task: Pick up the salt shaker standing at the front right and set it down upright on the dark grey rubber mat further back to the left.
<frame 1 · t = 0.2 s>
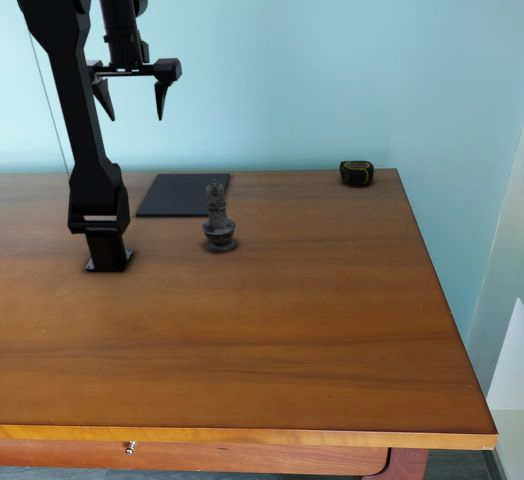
hand: (137, 120, 101), 15 cm above the table, tool pointing down, fingers open, 9 cm apart
mat: (185, 195, 109), on the table
salt shaker: (220, 245, 92), on the table
tape measure: (354, 181, 112), on the table
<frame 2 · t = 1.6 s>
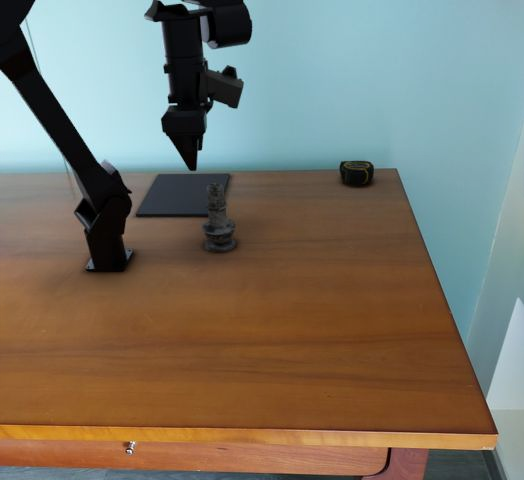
hand: (196, 160, 87), 13 cm above the table, tool pointing down, fingers open, 9 cm apart
nothing on the table moved.
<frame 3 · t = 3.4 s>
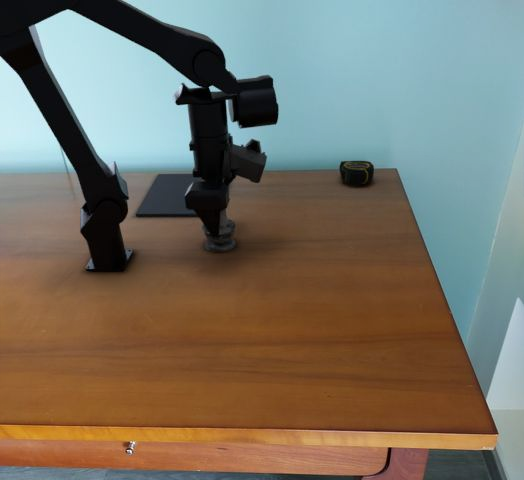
hand: (218, 226, 90), 4 cm above the table, tool pointing down, fingers closed on salt shaker, 7 cm apart
salt shaker: (220, 245, 92), on the table, touching gripper
everything else where it was.
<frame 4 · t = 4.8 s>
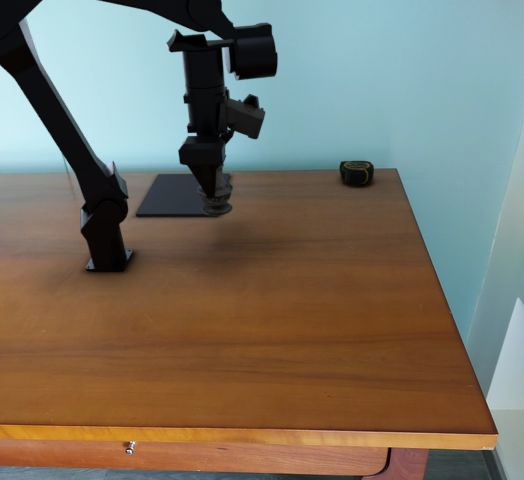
hand: (214, 188, 86), 10 cm above the table, tool pointing down, fingers closed on salt shaker, 7 cm apart
salt shaker: (216, 209, 88), point 6 cm above the table, touching gripper
everything else where it was.
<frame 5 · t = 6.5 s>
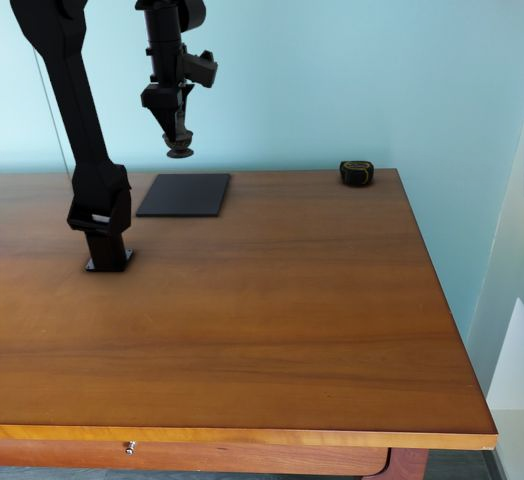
hand: (177, 134, 98), 13 cm above the table, tool pointing down, fingers closed on salt shaker, 7 cm apart
salt shaker: (180, 154, 101), point 9 cm above the table, touching gripper
everything else where it was.
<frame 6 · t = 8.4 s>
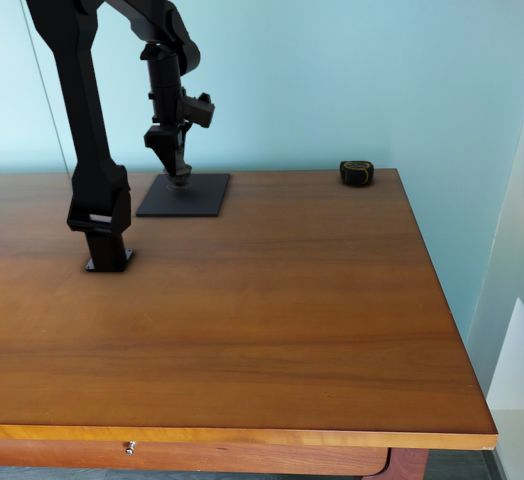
hand: (177, 169, 105), 6 cm above the table, tool pointing down, fingers closed on salt shaker, 7 cm apart
salt shaker: (179, 187, 108), point 2 cm above the table, touching gripper
everything else where it was.
when the fingers open (4 cm above the table, at t = 9.8 s): salt shaker stays where it is, resting on mat.
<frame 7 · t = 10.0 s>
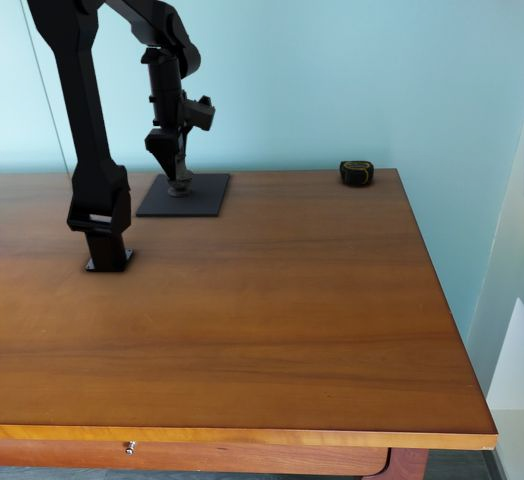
hand: (177, 171, 106), 5 cm above the table, tool pointing down, fingers open, 9 cm apart
salt shaker: (180, 192, 109), point 1 cm above the table, touching mat
everything else where it was.
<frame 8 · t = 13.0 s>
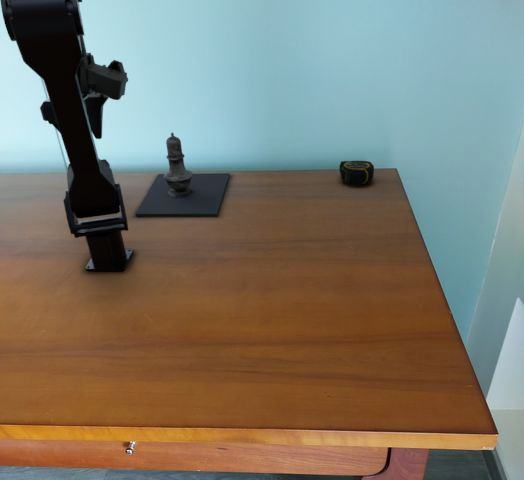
hand: (91, 147, 95), 13 cm above the table, tool pointing down, fingers open, 9 cm apart
nothing on the table moved.
at the end: salt shaker inside the target area on the mat (1.1 cm from its centre), point 0.4 cm above the mat's base; salt shaker tilted 0°; the gripper is holding nothing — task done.
